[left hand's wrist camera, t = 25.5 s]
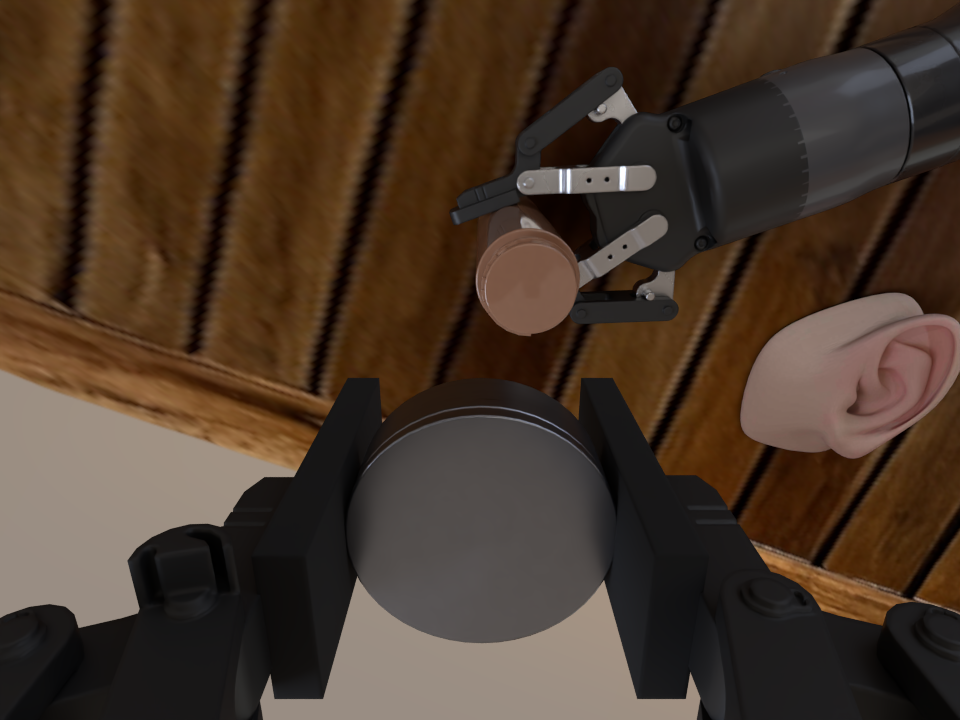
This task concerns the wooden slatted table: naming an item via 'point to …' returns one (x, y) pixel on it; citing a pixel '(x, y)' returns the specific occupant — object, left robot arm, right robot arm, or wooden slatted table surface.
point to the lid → (481, 513)
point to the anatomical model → (851, 376)
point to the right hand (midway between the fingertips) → (468, 259)
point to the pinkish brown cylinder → (524, 269)
